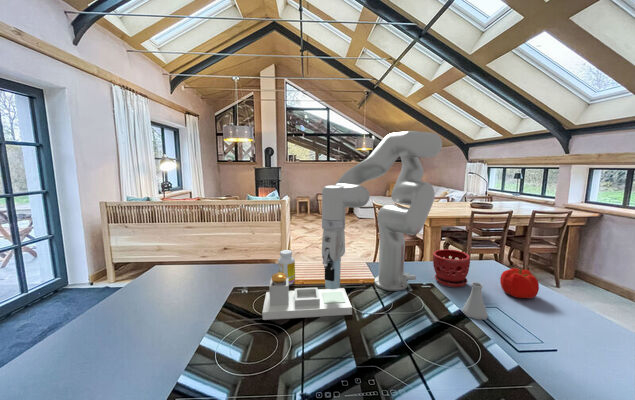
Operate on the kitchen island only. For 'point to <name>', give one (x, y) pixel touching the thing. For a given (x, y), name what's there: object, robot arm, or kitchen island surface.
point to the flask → (475, 303)
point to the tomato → (519, 283)
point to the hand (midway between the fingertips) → (332, 276)
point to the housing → (304, 302)
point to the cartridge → (336, 282)
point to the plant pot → (451, 267)
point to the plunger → (279, 278)
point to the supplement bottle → (287, 265)
